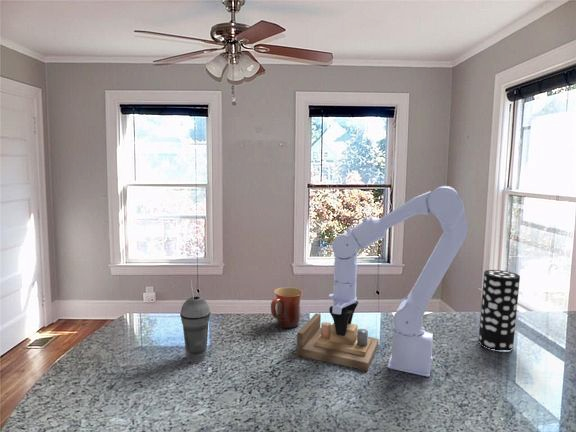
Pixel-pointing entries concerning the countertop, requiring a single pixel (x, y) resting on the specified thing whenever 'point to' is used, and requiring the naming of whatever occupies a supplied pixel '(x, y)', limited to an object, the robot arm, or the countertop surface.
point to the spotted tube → (498, 309)
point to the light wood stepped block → (309, 350)
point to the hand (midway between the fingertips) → (343, 331)
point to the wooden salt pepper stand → (344, 339)
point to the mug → (287, 306)
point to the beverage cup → (195, 327)
